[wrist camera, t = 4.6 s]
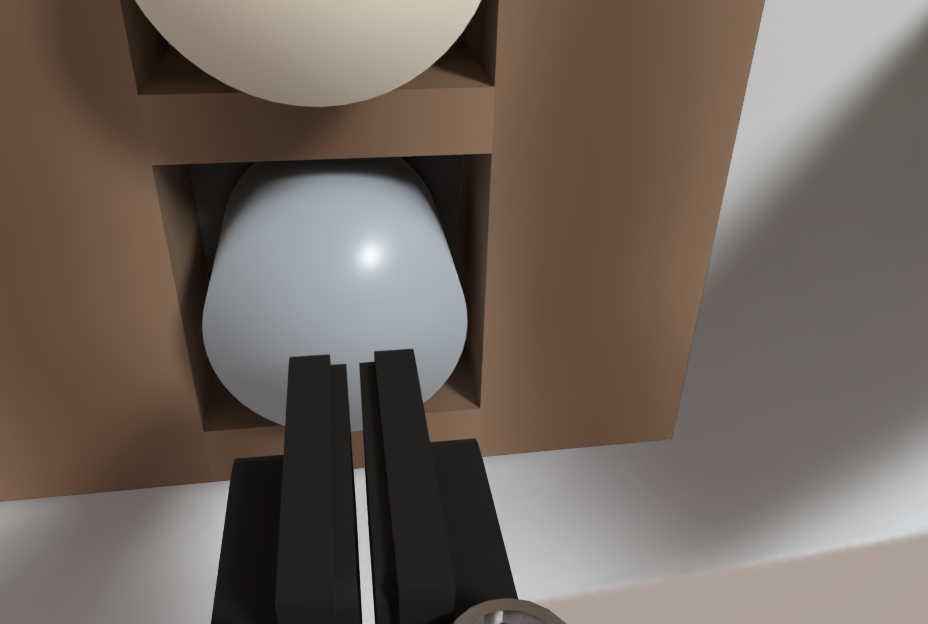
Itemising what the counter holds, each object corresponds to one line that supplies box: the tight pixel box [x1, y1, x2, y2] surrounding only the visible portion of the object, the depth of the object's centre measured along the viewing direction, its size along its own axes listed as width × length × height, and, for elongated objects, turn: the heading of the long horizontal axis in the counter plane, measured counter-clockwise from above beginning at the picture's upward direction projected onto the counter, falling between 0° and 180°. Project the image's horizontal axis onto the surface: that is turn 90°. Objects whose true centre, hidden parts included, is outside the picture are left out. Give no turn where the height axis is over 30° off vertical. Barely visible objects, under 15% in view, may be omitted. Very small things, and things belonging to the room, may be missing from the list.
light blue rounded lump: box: [202, 157, 467, 432], centre depth 15 cm, size 4×4×4 cm
